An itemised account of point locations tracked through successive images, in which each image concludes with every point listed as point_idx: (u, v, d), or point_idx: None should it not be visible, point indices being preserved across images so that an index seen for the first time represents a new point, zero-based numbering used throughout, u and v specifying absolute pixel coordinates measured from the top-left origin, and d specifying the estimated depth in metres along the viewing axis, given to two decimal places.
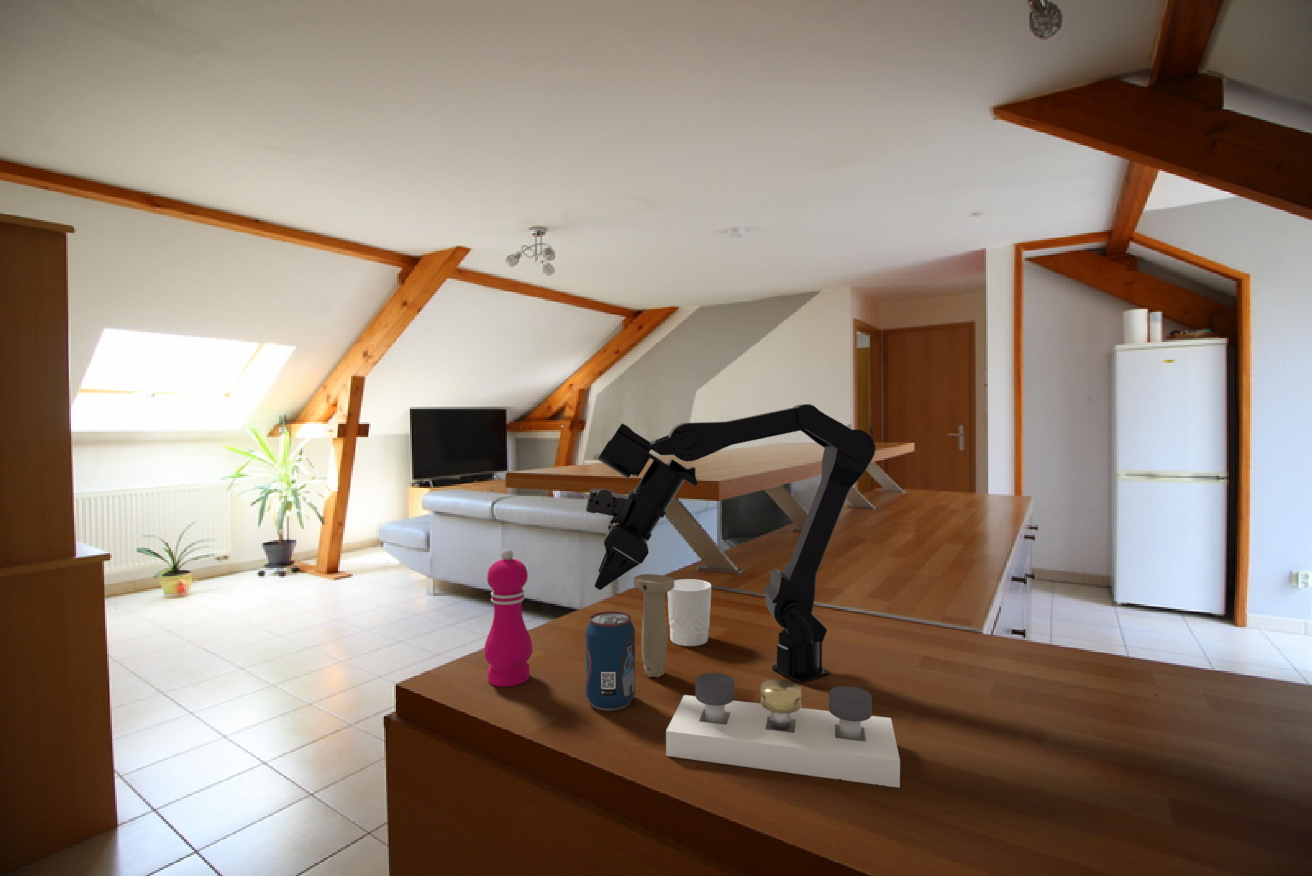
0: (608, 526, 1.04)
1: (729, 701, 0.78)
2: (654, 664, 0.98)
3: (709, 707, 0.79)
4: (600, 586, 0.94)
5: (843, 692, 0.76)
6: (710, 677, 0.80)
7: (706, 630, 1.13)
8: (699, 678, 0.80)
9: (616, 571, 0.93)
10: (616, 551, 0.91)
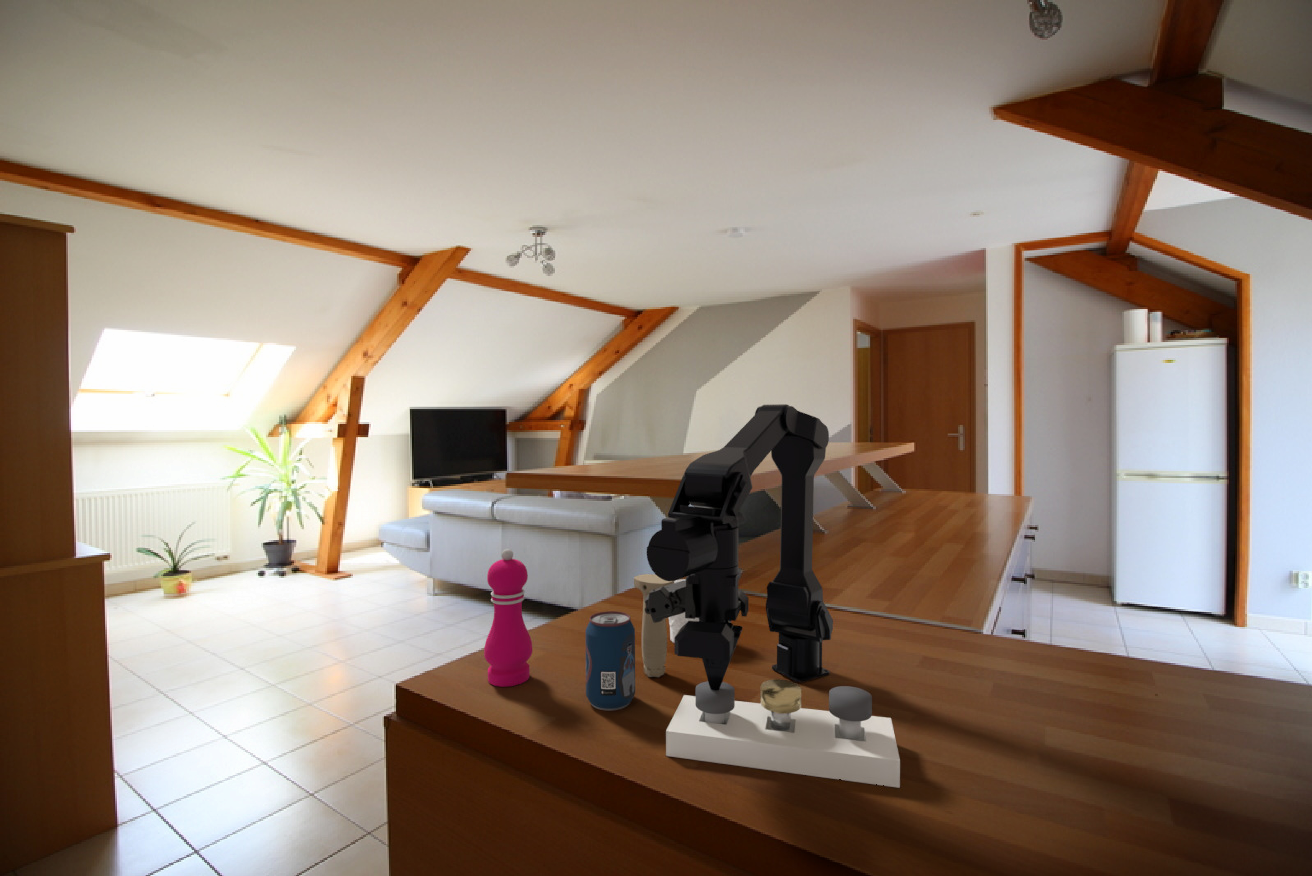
0: None
1: (729, 709, 0.78)
2: (654, 664, 0.98)
3: (709, 715, 0.79)
4: (716, 686, 0.79)
5: (843, 692, 0.76)
6: None
7: None
8: (699, 686, 0.80)
9: (720, 662, 0.78)
10: None
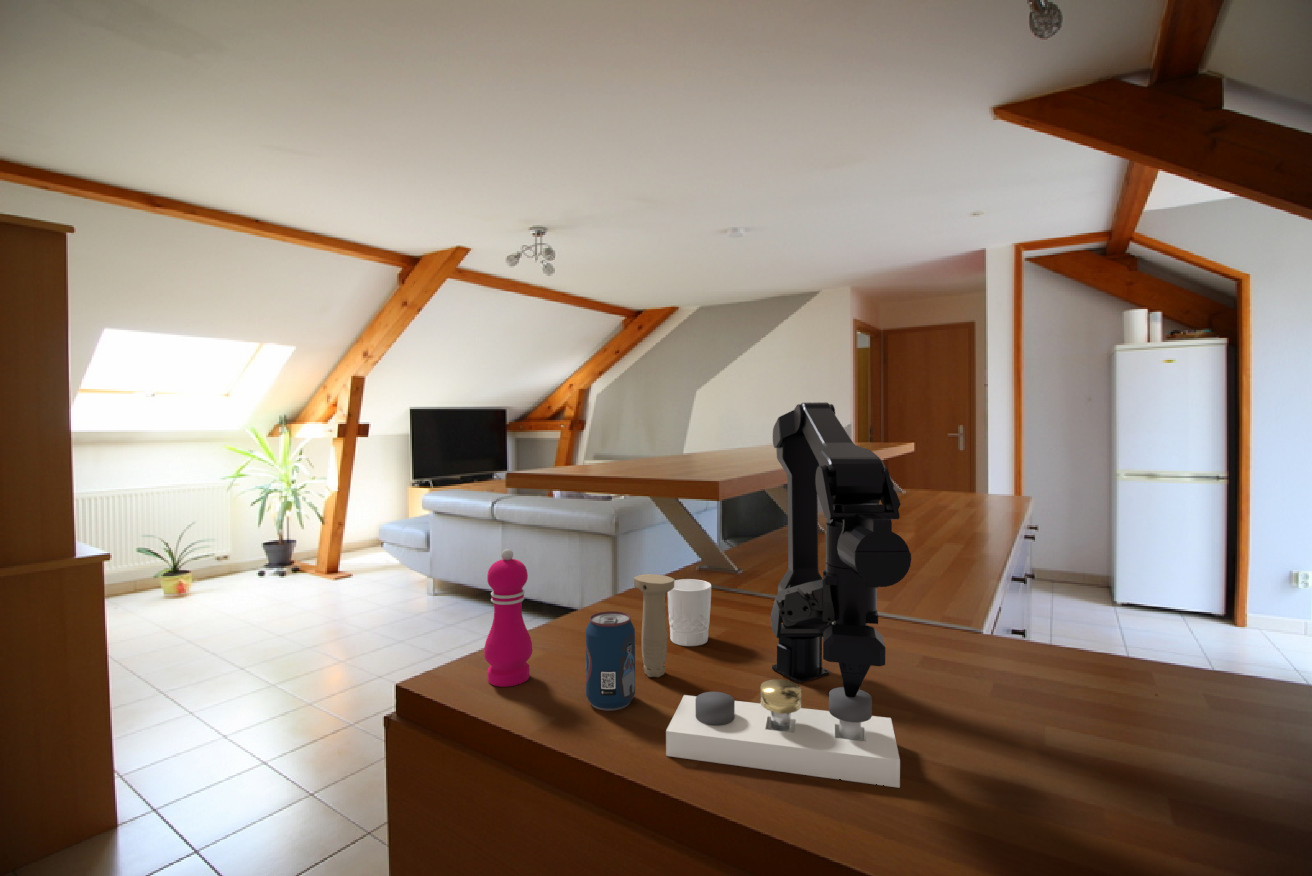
0: None
1: (729, 721, 0.78)
2: (654, 664, 0.98)
3: None
4: (852, 693, 0.75)
5: (843, 693, 0.76)
6: (710, 696, 0.80)
7: (706, 630, 1.13)
8: (699, 697, 0.80)
9: (859, 668, 0.73)
10: None
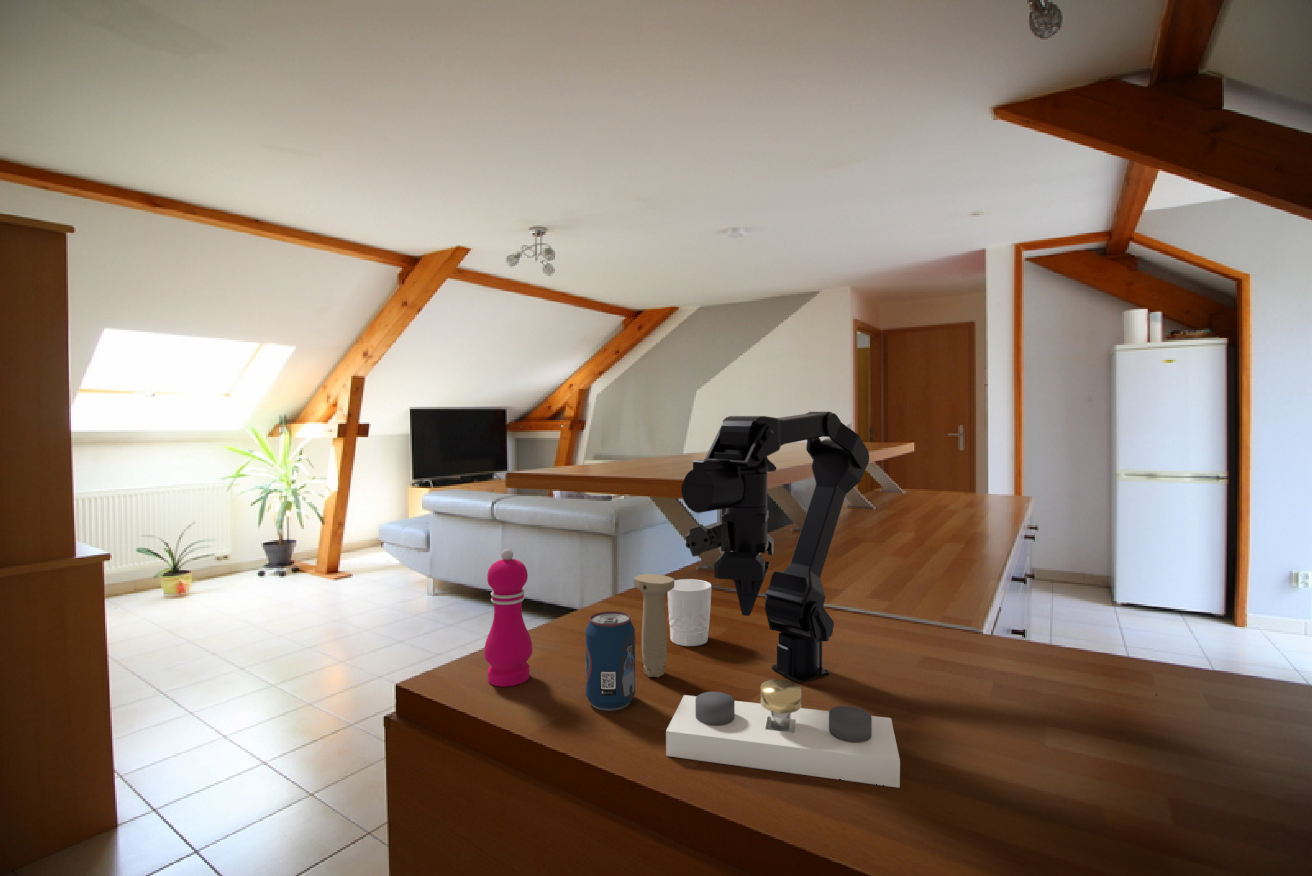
0: None
1: (729, 721, 0.78)
2: (654, 664, 0.98)
3: None
4: (747, 612, 0.90)
5: (842, 712, 0.76)
6: (710, 696, 0.80)
7: (706, 630, 1.13)
8: (699, 697, 0.80)
9: (751, 590, 0.89)
10: None
